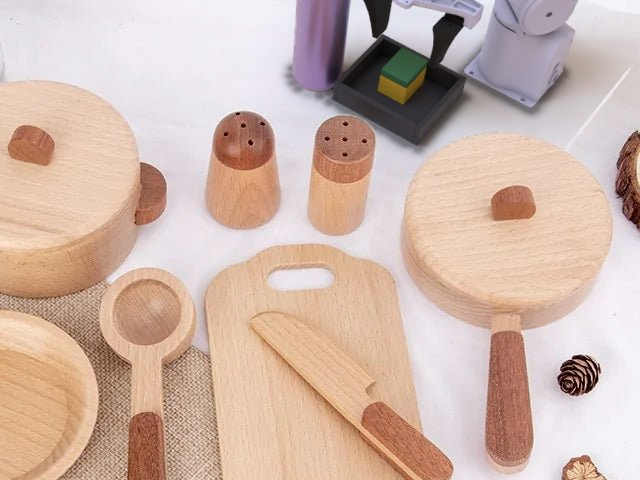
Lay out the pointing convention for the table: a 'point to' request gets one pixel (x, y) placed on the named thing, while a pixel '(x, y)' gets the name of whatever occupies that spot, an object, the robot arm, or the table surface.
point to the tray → (401, 119)
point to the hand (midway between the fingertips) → (407, 47)
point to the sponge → (402, 75)
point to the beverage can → (319, 42)
